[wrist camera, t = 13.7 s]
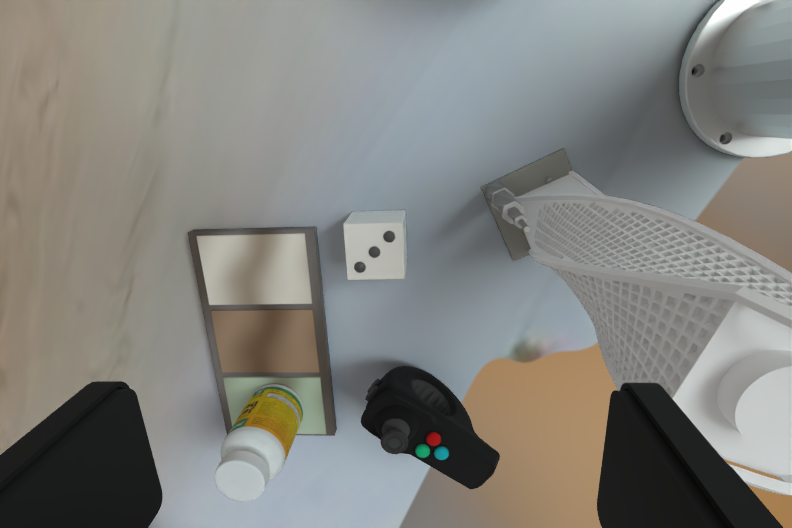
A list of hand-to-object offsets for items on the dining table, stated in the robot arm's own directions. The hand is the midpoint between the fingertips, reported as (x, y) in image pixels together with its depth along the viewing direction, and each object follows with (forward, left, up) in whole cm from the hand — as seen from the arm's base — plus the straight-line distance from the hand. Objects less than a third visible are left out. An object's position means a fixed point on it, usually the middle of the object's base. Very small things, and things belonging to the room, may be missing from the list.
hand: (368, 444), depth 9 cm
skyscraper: (-11, +2, -31) cm, 33 cm away
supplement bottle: (+14, +20, -29) cm, 38 cm away
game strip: (+14, +14, -30) cm, 36 cm away
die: (+3, +4, -30) cm, 31 cm away
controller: (-1, +19, -31) cm, 36 cm away
